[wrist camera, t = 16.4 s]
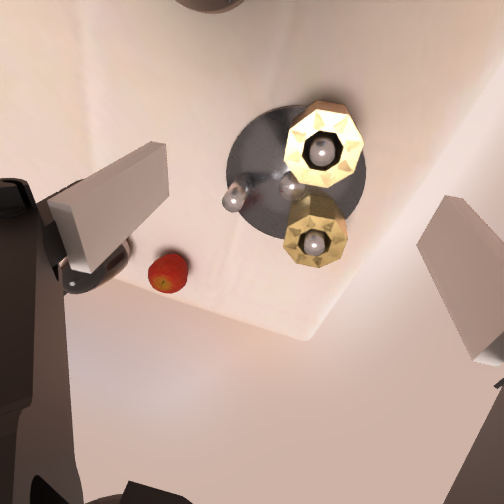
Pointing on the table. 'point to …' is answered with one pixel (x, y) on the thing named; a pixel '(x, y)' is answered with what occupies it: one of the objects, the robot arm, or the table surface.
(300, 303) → the table surface
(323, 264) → the gear
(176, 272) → the apple
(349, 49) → the table surface
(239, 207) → the carrier
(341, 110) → the seated gear
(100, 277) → the pump dispenser
